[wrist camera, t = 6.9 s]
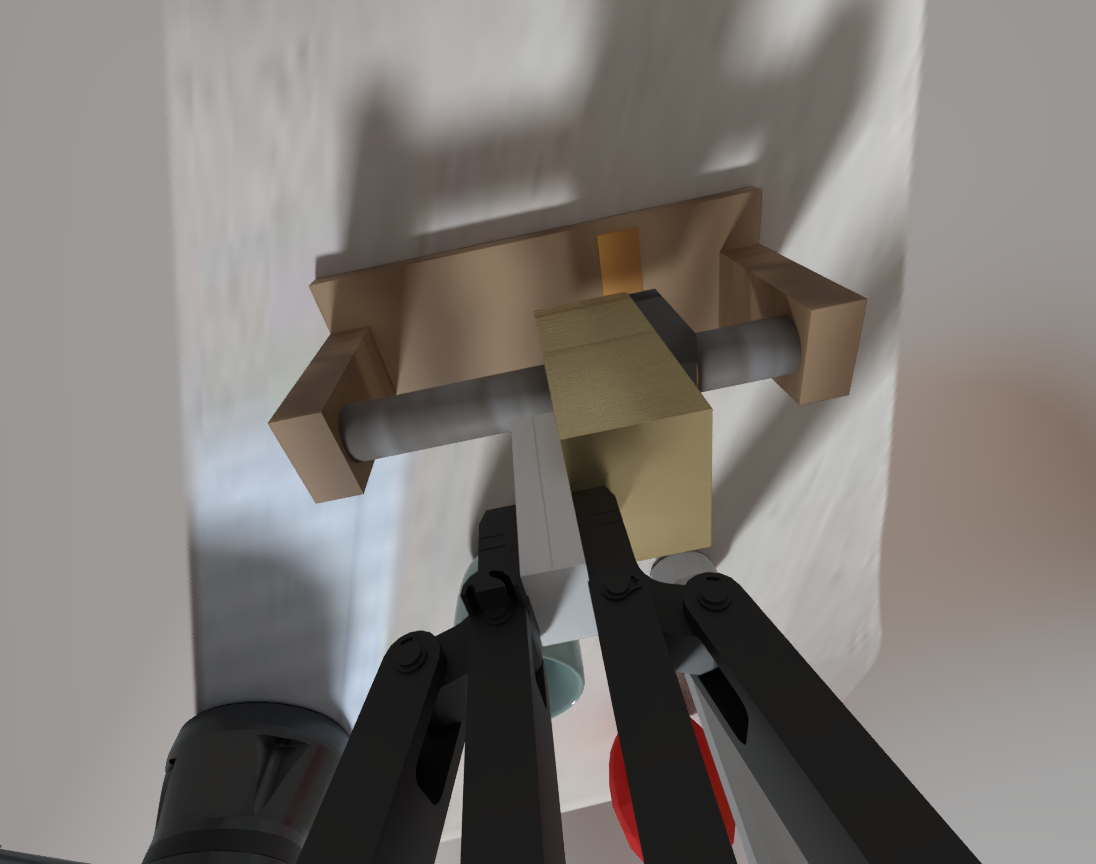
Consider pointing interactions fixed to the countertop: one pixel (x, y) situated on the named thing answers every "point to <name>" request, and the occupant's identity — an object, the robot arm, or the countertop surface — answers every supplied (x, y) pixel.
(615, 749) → the tomato
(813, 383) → the rail
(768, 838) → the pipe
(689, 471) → the sleeve
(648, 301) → the dark grey square ring
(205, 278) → the countertop surface
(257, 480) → the countertop surface
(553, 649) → the cup
